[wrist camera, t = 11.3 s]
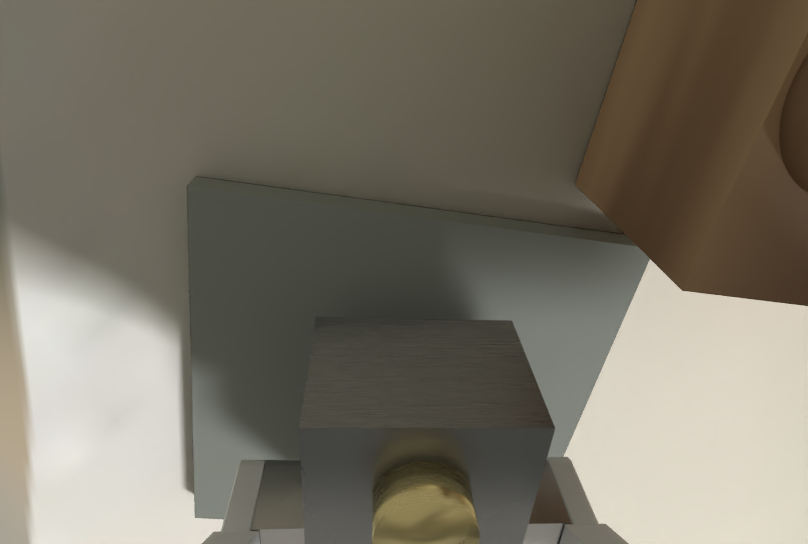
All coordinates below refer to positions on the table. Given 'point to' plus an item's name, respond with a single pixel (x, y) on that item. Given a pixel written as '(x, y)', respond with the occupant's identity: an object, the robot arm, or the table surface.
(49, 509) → the table surface
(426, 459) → the lever cap
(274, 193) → the felt mat
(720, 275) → the plane body
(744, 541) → the table surface
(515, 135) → the table surface
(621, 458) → the table surface
